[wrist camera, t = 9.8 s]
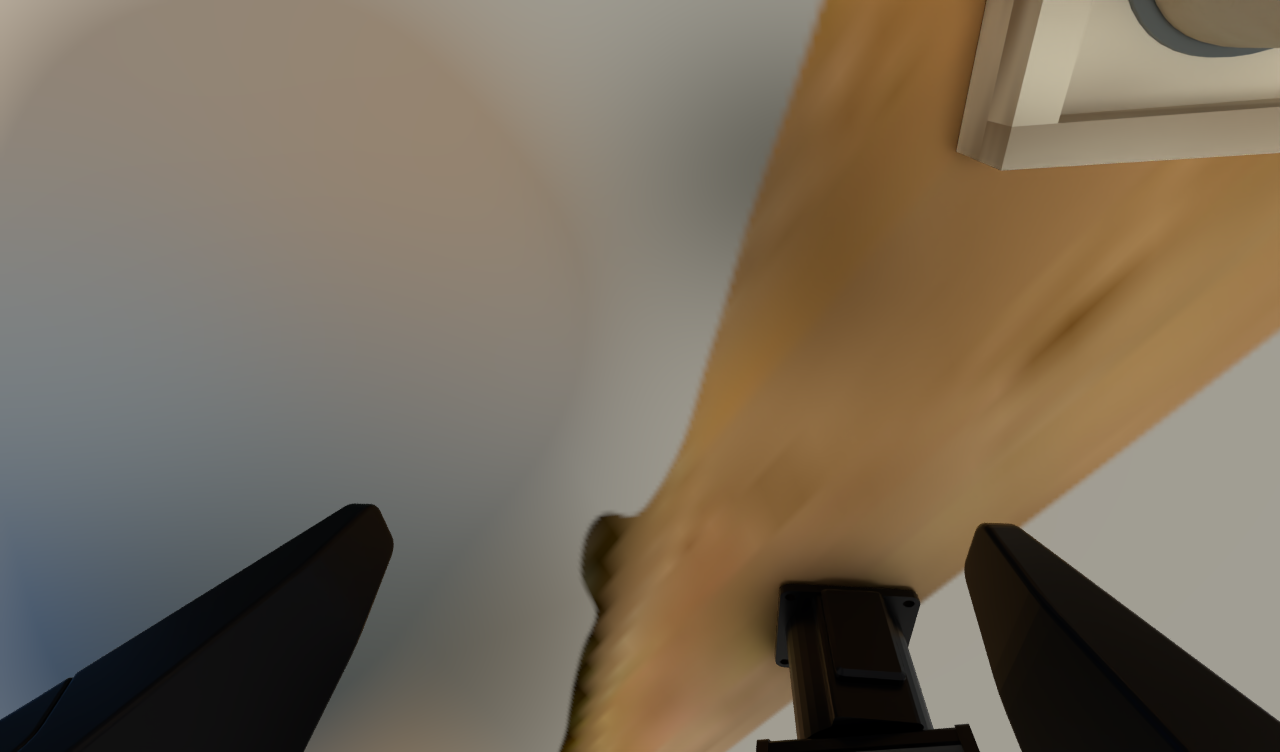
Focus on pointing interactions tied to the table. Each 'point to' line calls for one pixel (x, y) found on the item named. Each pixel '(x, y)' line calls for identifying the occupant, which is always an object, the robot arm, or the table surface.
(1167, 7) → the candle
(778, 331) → the table surface
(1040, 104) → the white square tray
